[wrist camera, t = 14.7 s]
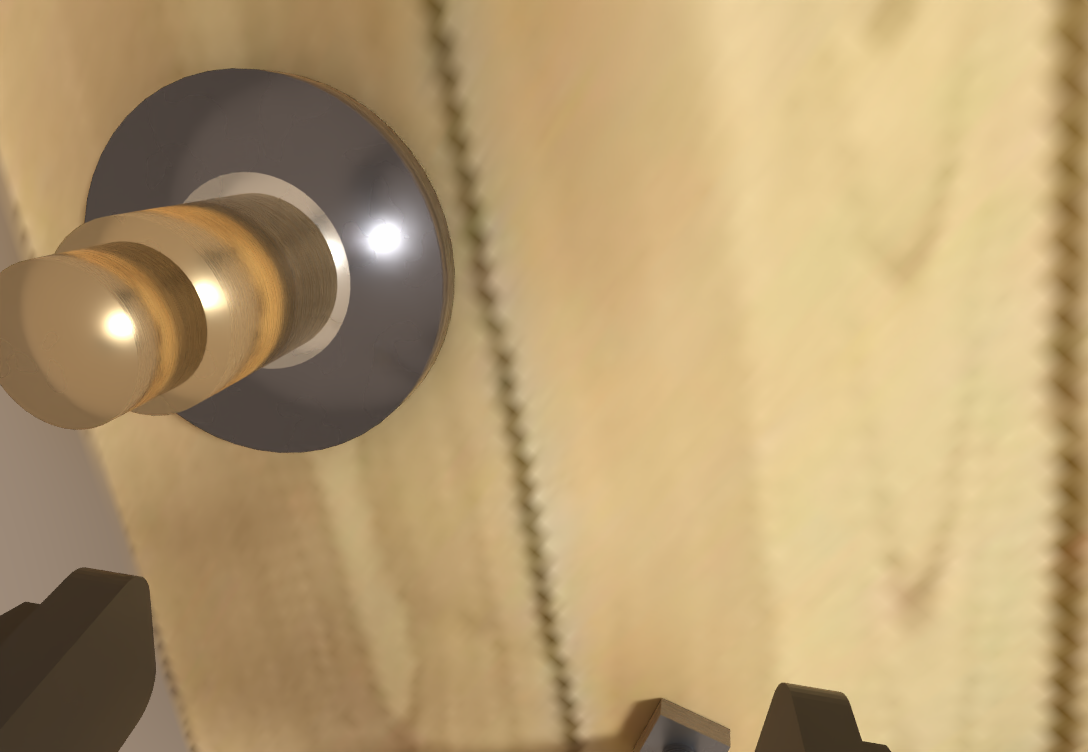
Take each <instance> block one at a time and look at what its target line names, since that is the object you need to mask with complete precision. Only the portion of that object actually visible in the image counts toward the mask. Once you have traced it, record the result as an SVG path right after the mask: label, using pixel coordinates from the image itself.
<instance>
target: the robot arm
mask: <svg viewBox="0 0 1088 752" xmlns="http://www.w3.org/2000/svg"><path fill="white" fill-rule="evenodd" d="M155 674H156V662H155V650H154V638H153V626H152V614H151V602H150V591H149V586H148V583H147V581H146V580H145V579H144V578H143V577H139V576H133V575H127V574H121V573H115V572H109V571H103V570H97V569H91V568H79V569H77V570H75V571H74V572H72V573H71V574H70V575H69V576H68V577H67V578H66V579H65V580H64V581H63V582H62V583H61V584H60V585H59V586H58V587H57V588H56V589H55V590H54V591H53V592H52V593H51V594H50V595H49V596H48V597H47V598H46V599H45V600H44V601H43V602H42V603H41V604H35V603H30V602H24V603H22V604H20V605H19V606H17V607H15V608H13V609H12V610H10V611H8V612H6V613H4V614H3V615H1V616H0V752H118V751H119V749H120V748H121V747H122V745H123V744H124V742H125V741H126V739H127V738H128V736H129V735H130V733H131V732H132V730H133V729H134V728H135V726H136V725H137V723H138V721H139V720H140V718H141V717H142V715H143V713H144V711H145V709H146V707H147V704H148V702H149V699H150V696H151V693H152V690H153V686H154V681H155ZM755 752H891V751H890V750H889V748H888V747H887V746H886V745H882V744H876V743H870V742H864V741H862V739H861V736H860V733H859V730H858V727H857V724H856V721H855V718H854V715H853V712H852V709H851V706H850V703H849V700H848V699H847V697H846V696H845V695H844V694H843V693H841V692H836V691H831V690H825V689H819V688H813V687H807V686H801V685H795V684H789V683H781V684H779V685H778V687H777V689H776V690H775V693H774V696H773V699H772V702H771V705H770V708H769V711H768V714H767V716H766V719H765V722H764V725H763V728H762V731H761V734H760V737H759V740H758V743H757V746H756V749H755Z"/></svg>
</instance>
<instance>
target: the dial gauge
mask: <svg viewBox="0 0 1088 752" xmlns="http://www.w3.org/2000/svg"><path fill="white" fill-rule="evenodd" d="M729 748H730V729H728V728H726V727H723V726H721V725H719V724H717V723H715V722H713V721H710V720H708V719H706V718H704V717H702V716H700V715H697V714H695V713H693V712H691V711H689V710H687V709H684V708H682V707H680V706H678V705H676V704H674V703H671V702H669V701H667V700H665V699H663V698H662V699H661V701H660V703H659V704H658V706H657V708H656V710H655V711H654V713H653V715H652V717H651V719H650V720H649V722H648V724H647V726H646V728H645V729H644V731H643V733H642V735H641V737H640V738H639V740H638V742H637V744H636V746H635V747H634V749H633V752H728V750H729Z"/></svg>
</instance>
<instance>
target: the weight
mask: <svg viewBox="0 0 1088 752" xmlns="http://www.w3.org/2000/svg"><path fill="white" fill-rule="evenodd" d="M336 297H337V272H336V265H335V262H334V258H333V255H332V252H331V250H330V247H329V245H328V243H327V241H326V239H325V238H324V236H323V234H322V233H321V231H320V230H319V228H318V227H317V226H316V225H315V223H314V222H313V221H312V220H311V219H310V218H309V217H308V216H307V215H306V214H305V213H303V212H302V211H301V210H300V209H298V208H297V207H295V206H294V205H292V204H291V203H289V202H287V201H285V200H283V199H280V198H277V197H275V196H271V195H267V194H261V193H244V194H238V195H231V196H225V197H219V198H213V199H207V200H201V201H195V202H189V203H183V204H177V205H171V206H165V207H159V208H153V209H147V210H141V211H135V212H129V213H123V214H117V215H111V216H105V217H101V218H97V219H94V220H91V221H89V222H86V223H84V224H83V225H81V226H79V227H78V228H76V229H75V230H74V231H72V232H71V233H70V234H69V235H68V236H67V237H66V238H65V239H64V240H63V242H62V243H61V244H60V245H59V247H58V249H57V250H56V252H55V254H53V255H48V256H44V257H39V258H34V259H30V260H25V261H21V262H18V263H16V264H13V265H11V266H9V267H8V268H6V269H5V270H3V271H2V272H1V273H0V384H1V386H2V387H3V388H4V390H5V391H6V392H7V393H8V395H9V396H10V397H11V398H12V399H13V400H14V401H15V402H16V403H17V404H19V405H20V406H21V407H22V408H23V409H24V410H26V411H27V412H29V413H30V414H32V415H33V416H35V417H37V418H38V419H40V420H42V421H44V422H46V423H49V424H51V425H54V426H57V427H61V428H66V429H74V430H78V429H90V428H95V427H98V426H101V425H103V424H105V423H107V422H109V421H111V420H113V419H115V418H117V417H119V416H121V415H123V414H125V413H127V412H129V411H131V412H135V413H139V414H145V415H169V414H175V413H178V412H181V411H184V410H187V409H189V408H191V407H193V406H195V405H197V404H198V403H200V402H202V401H204V400H205V399H207V398H209V397H211V396H213V395H214V394H216V393H218V392H220V391H222V390H223V389H225V388H227V387H229V386H230V385H232V384H234V383H236V382H238V381H239V380H241V379H243V378H245V377H247V376H248V375H250V374H252V373H254V372H255V371H257V370H259V369H261V368H263V367H264V366H266V365H268V364H270V363H271V362H273V361H275V360H277V359H279V358H280V357H282V356H284V355H286V354H288V353H289V352H291V351H293V350H295V349H296V348H298V347H300V346H302V345H304V344H305V343H307V342H308V341H310V340H311V339H313V338H314V337H315V336H316V335H317V334H318V333H319V332H320V331H321V330H322V329H323V327H324V326H325V325H326V323H327V321H328V320H329V318H330V316H331V314H332V311H333V308H334V305H335V301H336Z"/></svg>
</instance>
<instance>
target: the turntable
mask: <svg viewBox="0 0 1088 752" xmlns="http://www.w3.org/2000/svg"><path fill="white" fill-rule="evenodd" d="M244 193H261V194H267V195H271V196H275V197H277V198H280V199H283V200H285V201H287V202H289V203H291V204H292V205H294V206H295V207H297V208H298V209H300V210H301V211H302V212H303V213H305V214H306V215H307V216H308V217H309V218H310V219H311V220H312V221H313V222H314V223H315V225H316V226H317V227H318V228H319V230H320V231H321V233H322V234H323V236H324V238H325V239H326V241H327V243H328V245H329V247H330V250H331V252H332V255H333V258H334V262H335V265H336V272H337V297H336V301H335V305H334V308H333V311H332V314H331V316H330V318H329V320H328V321H327V323H326V325H325V326H324V327H323V329H322V330H321V331H320V332H319V333H318V334H317V335H316V336H315V337H314V338H313V339H311V340H310V341H308V342H307V343H305V344H304V345H302V346H300V347H298V348H296V349H295V350H293V351H291V352H289V353H288V354H286V355H284V356H282V357H280V358H279V359H277V360H275V361H273V362H271V363H270V364H268V365H266V366H264V367H263V368H261V369H259V370H257V371H255V372H254V373H252V374H250V375H248V376H247V377H245V378H243V379H241V380H239V381H238V382H236V383H234V384H232V385H230V386H229V387H227V388H225V389H223V390H222V391H220V392H218V393H216V394H214V395H213V396H211V397H209V398H207V399H205V400H204V401H202V402H200V403H198V404H197V405H195V406H193V407H191V408H189V409H187V410H184V411H181V412H178V413H177V414H178V415H180V416H181V417H183V418H184V419H186V420H187V421H189V422H190V423H191V424H193V425H195V426H196V427H198V428H200V429H202V430H204V431H206V432H208V433H210V434H212V435H213V436H216V437H218V438H221V439H223V440H226V441H229V442H231V443H234V444H237V445H241V446H244V447H248V448H252V449H256V450H263V451H271V452H279V453H289V452H307V451H314V450H322V449H325V448H329V447H332V446H336V445H339V444H342V443H345V442H347V441H349V440H351V439H353V438H356V437H358V436H360V435H362V434H364V433H365V432H367V431H368V430H370V429H371V428H373V427H375V426H376V425H378V424H379V423H380V422H382V421H383V420H384V419H385V418H386V417H387V416H388V415H390V414H391V413H392V412H393V411H394V410H395V409H396V408H397V407H398V406H400V405H401V404H402V403H403V402H404V401H405V400H406V399H407V398H408V397H409V396H410V395H411V394H412V393H413V392H414V391H415V389H416V388H417V387H418V386H419V385H420V383H421V382H422V381H423V380H424V378H425V377H426V375H427V374H428V372H429V370H430V369H431V367H432V365H433V364H434V362H435V361H436V358H437V356H438V354H439V351H440V349H441V347H442V345H443V342H444V340H445V336H446V333H447V329H448V326H449V322H450V319H451V313H452V306H453V299H454V261H453V252H452V244H451V240H450V236H449V232H448V227H447V223H446V219H445V216H444V214H443V211H442V208H441V206H440V203H439V200H438V198H437V195H436V193H435V191H434V189H433V187H432V185H431V183H430V181H429V180H428V178H427V176H426V174H425V172H424V170H423V169H422V167H421V166H420V164H419V163H418V161H417V160H416V158H415V157H414V156H413V154H412V153H411V151H410V150H409V148H408V147H407V146H406V145H405V144H404V143H403V141H402V140H401V139H400V138H399V137H398V136H397V135H396V134H395V132H394V131H393V130H392V129H391V128H390V127H389V126H388V125H387V124H385V123H384V122H383V121H382V120H381V119H380V118H379V117H378V116H376V115H375V114H374V113H373V112H372V111H371V110H369V109H368V108H366V107H365V106H363V105H362V104H360V103H359V102H357V101H356V100H355V99H353V98H352V97H350V96H348V95H346V94H344V93H342V92H340V91H338V90H336V89H334V88H333V87H331V86H329V85H326V84H324V83H321V82H318V81H315V80H312V79H309V78H306V77H303V76H298V75H293V74H288V73H283V72H276V71H267V70H257V69H235V68H231V69H222V70H213V71H206V72H203V73H199V74H195V75H192V76H188V77H185V78H182V79H180V80H178V81H176V82H174V83H171V84H169V85H167V86H165V87H163V88H161V89H160V90H158V91H157V92H155V93H154V94H152V95H151V96H150V97H148V98H147V99H145V100H144V101H143V102H142V103H140V104H139V105H138V106H137V107H136V108H135V109H134V110H133V111H132V112H131V113H130V114H129V115H128V116H127V117H126V118H125V119H124V121H123V122H122V123H121V124H120V126H119V127H118V128H117V129H116V131H115V132H114V133H113V135H112V137H111V138H110V140H109V142H108V144H107V145H106V147H105V149H104V151H103V152H102V154H101V157H100V159H99V162H98V164H97V167H96V169H95V172H94V174H93V178H92V182H91V186H90V190H89V194H88V198H87V206H86V215H85V223H86V222H89V221H91V220H94V219H97V218H101V217H105V216H111V215H117V214H123V213H129V212H135V211H141V210H147V209H153V208H159V207H165V206H171V205H177V204H183V203H189V202H195V201H201V200H207V199H213V198H219V197H225V196H231V195H238V194H244Z"/></svg>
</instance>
